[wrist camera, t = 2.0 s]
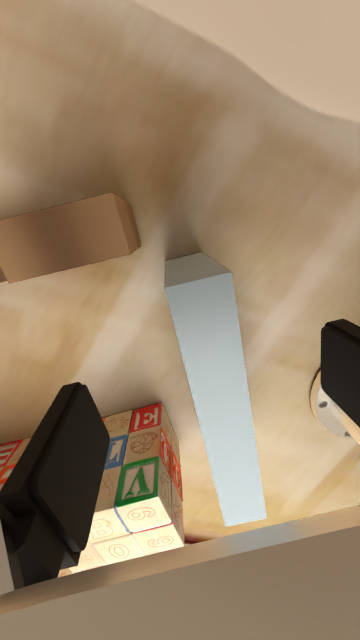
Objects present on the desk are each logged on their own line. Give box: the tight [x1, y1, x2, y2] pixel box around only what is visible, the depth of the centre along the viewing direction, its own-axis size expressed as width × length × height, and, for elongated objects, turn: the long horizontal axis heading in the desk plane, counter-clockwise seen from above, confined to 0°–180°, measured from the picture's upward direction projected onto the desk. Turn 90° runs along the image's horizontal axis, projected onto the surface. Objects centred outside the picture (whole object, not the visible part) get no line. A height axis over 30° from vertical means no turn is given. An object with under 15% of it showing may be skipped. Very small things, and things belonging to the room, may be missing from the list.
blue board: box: [165, 252, 266, 527], centre depth 18 cm, size 18×3×9 cm, turn 13°
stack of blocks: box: [0, 403, 184, 578], centre depth 20 cm, size 21×6×12 cm, turn 106°
